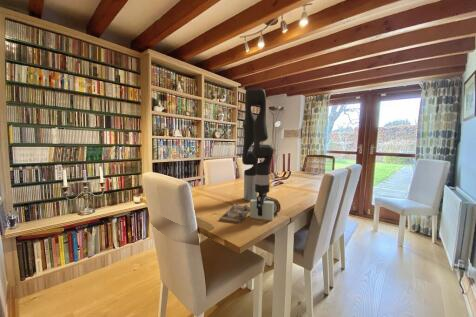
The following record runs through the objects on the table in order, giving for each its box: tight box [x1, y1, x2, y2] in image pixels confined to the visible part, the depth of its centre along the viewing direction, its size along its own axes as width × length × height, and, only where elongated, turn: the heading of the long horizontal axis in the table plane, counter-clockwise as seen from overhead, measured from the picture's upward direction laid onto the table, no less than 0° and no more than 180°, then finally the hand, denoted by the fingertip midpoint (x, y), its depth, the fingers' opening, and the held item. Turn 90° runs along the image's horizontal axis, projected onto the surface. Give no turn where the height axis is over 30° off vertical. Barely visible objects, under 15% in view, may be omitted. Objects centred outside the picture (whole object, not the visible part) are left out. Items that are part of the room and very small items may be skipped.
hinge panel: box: [219, 203, 250, 224], centre depth 112 cm, size 22×11×4 cm, turn 162°
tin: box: [267, 196, 282, 215], centre depth 117 cm, size 15×3×8 cm, turn 41°
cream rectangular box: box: [249, 199, 275, 221], centre depth 107 cm, size 4×12×9 cm, turn 72°
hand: (261, 212), depth 108 cm, fingers open, 8 cm apart
